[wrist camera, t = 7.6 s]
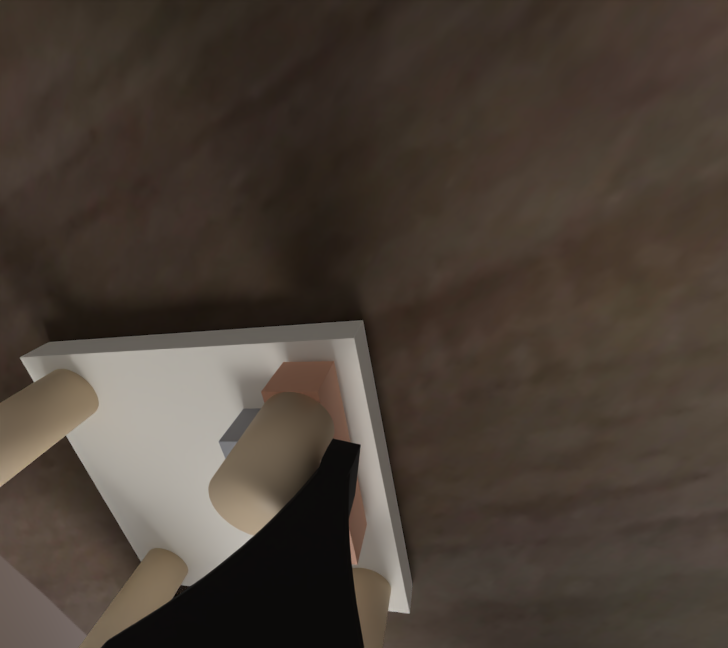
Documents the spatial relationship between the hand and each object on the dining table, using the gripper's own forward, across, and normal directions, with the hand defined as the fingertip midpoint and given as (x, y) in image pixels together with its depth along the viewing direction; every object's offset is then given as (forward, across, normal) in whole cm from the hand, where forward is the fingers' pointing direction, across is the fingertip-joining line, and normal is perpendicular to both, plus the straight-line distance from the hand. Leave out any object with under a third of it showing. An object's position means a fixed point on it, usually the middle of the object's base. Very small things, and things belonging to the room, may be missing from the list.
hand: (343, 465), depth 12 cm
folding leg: (+3, +1, +3) cm, 5 cm away
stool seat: (+5, +6, +8) cm, 11 cm away
